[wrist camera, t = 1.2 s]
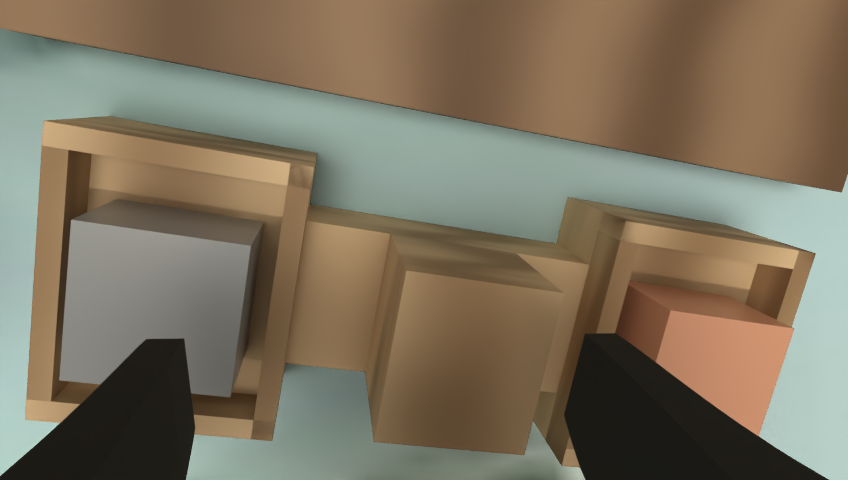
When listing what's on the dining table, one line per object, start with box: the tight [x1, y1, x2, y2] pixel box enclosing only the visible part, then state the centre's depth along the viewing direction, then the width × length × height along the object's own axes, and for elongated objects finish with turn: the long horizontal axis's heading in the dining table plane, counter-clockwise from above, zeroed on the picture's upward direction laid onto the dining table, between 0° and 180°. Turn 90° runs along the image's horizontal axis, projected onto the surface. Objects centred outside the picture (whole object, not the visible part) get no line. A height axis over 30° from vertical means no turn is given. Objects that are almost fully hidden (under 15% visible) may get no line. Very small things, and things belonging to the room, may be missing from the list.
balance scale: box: [25, 116, 816, 467], centre depth 18 cm, size 22×8×7 cm, turn 79°
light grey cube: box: [59, 199, 264, 397], centre depth 16 cm, size 4×4×3 cm
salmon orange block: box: [615, 281, 794, 436], centre depth 19 cm, size 4×4×3 cm
